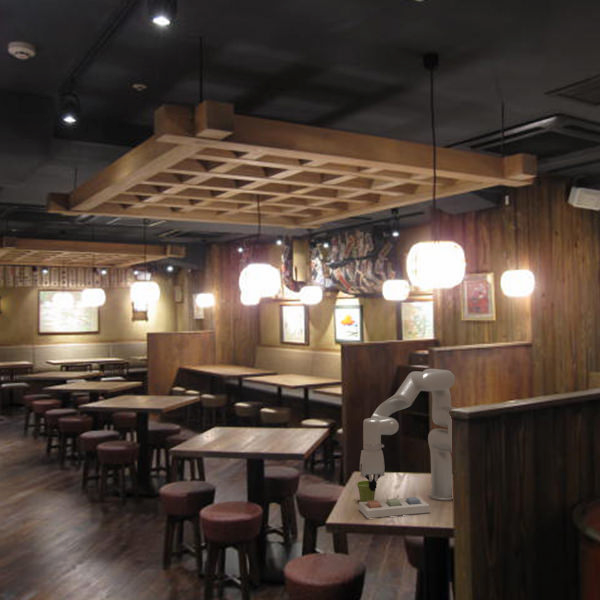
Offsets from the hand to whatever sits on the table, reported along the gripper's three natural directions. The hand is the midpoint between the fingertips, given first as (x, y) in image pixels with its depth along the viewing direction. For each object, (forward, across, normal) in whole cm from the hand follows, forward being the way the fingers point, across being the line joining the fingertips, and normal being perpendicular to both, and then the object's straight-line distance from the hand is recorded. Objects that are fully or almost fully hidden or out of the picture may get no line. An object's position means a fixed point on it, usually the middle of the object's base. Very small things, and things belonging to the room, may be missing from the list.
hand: (372, 490), depth 258 cm
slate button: (+8, -19, 0) cm, 20 cm away
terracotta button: (+8, -1, 0) cm, 8 cm away
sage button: (+8, -10, 0) cm, 12 cm away
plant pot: (+10, -3, -16) cm, 19 cm away
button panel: (+10, -10, 0) cm, 14 cm away
